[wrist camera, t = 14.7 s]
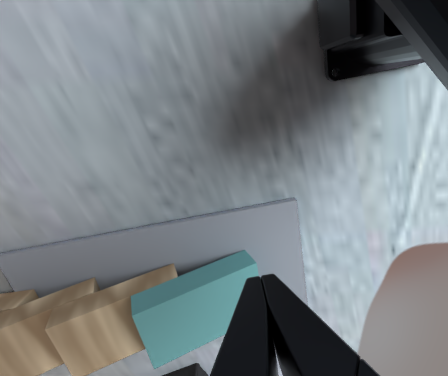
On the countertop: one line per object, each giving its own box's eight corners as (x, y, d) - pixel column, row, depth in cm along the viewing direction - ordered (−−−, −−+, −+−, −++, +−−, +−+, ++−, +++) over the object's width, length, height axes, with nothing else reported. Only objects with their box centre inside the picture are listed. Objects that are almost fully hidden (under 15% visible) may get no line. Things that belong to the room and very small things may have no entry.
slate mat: (294, 197, 20) (296, 200, 20) (307, 315, 24) (309, 319, 24) (-2, 253, 21) (-7, 257, 21) (59, 356, 25) (56, 361, 25)
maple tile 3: (93, 292, 20) (-54, 350, 17) (115, 339, 22) (-15, 399, 19) (94, 277, 22) (-38, 327, 19) (114, 322, 23) (-4, 374, 21)
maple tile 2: (178, 277, 19) (44, 329, 17) (193, 326, 21) (74, 380, 19) (173, 263, 21) (52, 308, 19) (188, 309, 23) (79, 356, 21)
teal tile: (254, 297, 23) (151, 346, 20) (244, 249, 21) (130, 296, 18) (265, 314, 21) (154, 369, 18) (256, 262, 19) (131, 316, 17)
